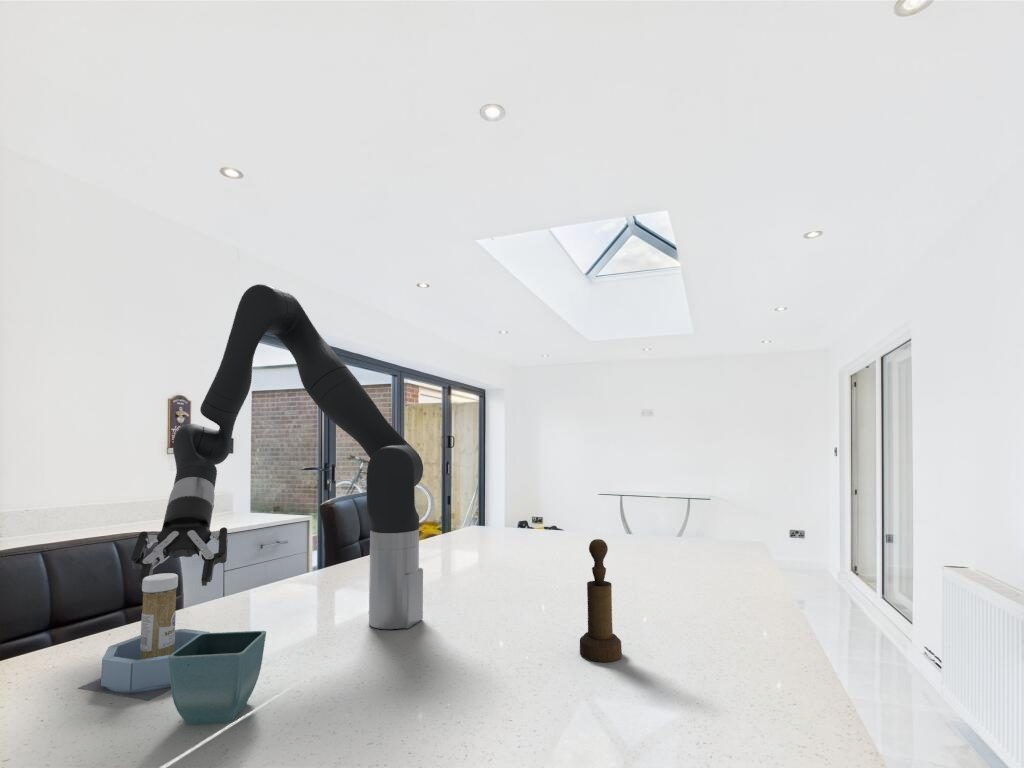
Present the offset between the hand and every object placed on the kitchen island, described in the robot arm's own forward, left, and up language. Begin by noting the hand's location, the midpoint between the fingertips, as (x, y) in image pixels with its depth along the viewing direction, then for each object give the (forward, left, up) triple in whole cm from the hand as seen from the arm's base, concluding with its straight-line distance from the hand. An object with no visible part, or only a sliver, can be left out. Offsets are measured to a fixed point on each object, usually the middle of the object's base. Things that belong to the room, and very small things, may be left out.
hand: (175, 585), depth 95 cm
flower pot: (-24, +15, -11) cm, 31 cm away
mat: (-6, +8, -11) cm, 15 cm away
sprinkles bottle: (-6, +8, -10) cm, 14 cm away
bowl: (-6, +8, -10) cm, 15 cm away
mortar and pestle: (-67, -19, -11) cm, 71 cm away
